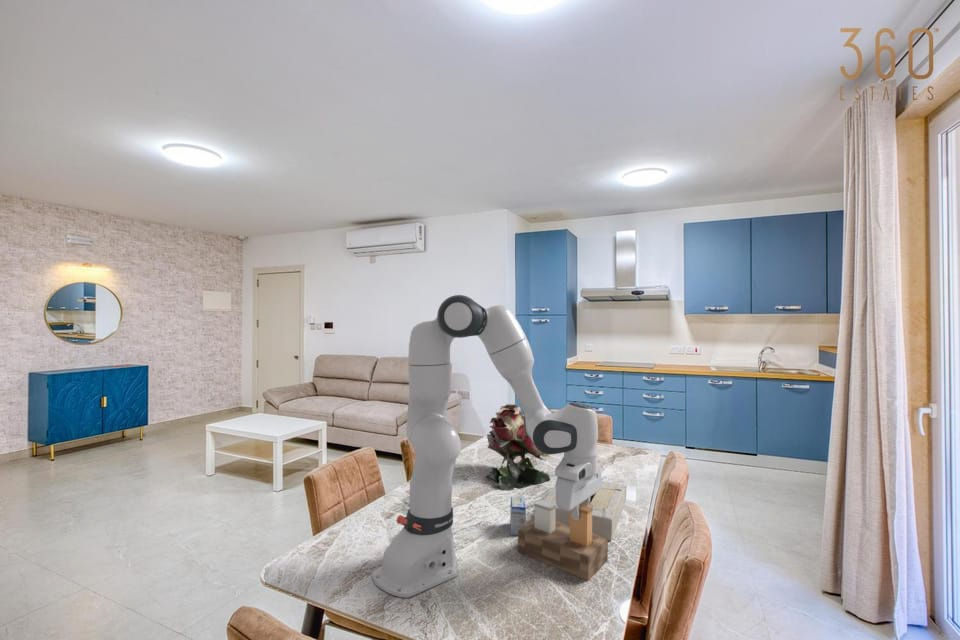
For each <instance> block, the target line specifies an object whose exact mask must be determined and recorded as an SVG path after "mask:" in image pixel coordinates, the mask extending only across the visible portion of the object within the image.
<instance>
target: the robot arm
mask: <svg viewBox="0 0 960 640" xmlns="http://www.w3.org/2000/svg"><path fill="white" fill-rule="evenodd" d="M475 336H477V337H478V338H479V339H480V341H481V342H482V343H483V345H484V347H485V350H486V352H487V354H488V357H489V358H490V360H491V362H492V364H493V365H494V367H495V368H496V370H497V372H498V373H499V374H500V375H501V377H502V378H503V379H504V380H505V381H506V382H507V383H508V384H509V385H510V387H511V388H512V390H513V392H514V394H515V397H516V399H517V402H518V403H519V407H520V409H521V411H522V413H523V414H524V429H525V432H526V435H527V436H528V437H529V438H530V439H531V441H532V442H533V444H534V445H535V446H536V448H537V449H538V450H539V451H541V452H542V453H545V454H548V455H556V454H557V455H558V454H563V457H562V459H561V461H560V462H559V463H558V465H556V467H555V469H554V476H555V477H556V480H555V486H556V505H557V507H558V508H560V509H563V510H566V511H570V510H571V511H572V518H573V519H574V520H578V519H580V518H581V516H580V515H581V512H579V509H578V508H579V504H580V503H581V504H583V505H586V506H589V504H590V497H591V496H592V495H594V494H595V493H596V492H598V491H599V490H600V489H601V486H602V469H601V465H600V464H599V452H598V449H597V443H598V440H599V426H598V425H599V424H598V423H599V422H598V416H597V413H596V411H595V409H594V408H593V407H591V406H589V405H587V404H585V403H582V402H581V403H580V402H576V401H575V402H568V403H567V404H566V405H565V406H564V407H561V409H559V410H556V411H554V412H553V410H551V409H550V408H549V407H547V406H546V405H545V404H544V402H543V400H542V398H541V395H540V393H539V391H538V389H537V386H536V384H535V382H534V381H535V380H534V377H533V367H534V364H535V359H534V354H533V351H532V347H531V345H530V343H529V340H528V338H527V336H526V333H525V332H524V330H523V328H522V326H521V324H520V323H519V321H518V319H517V318H516V317H515V315H514V314H513V312H512V310H511V309H510V308H508V307H507V306H505V305H493V306H489V307H487V308H484V307H483V306H481V305H480V304H479V303H478V302H476V301H475V300H473V298H470V296H467V295H463V294H456V295H455V294H454V295H452V296H448V297H447V298H446V299H444V300H443V301H442V302H441V304H440V305H439V307H438V310H437V315H436V317H435V319H433V320H430V321H429V320H428V321H423V322H420V323H417V324H416V325H414V327H413V328H412V330H411V332H410V337H409V343H408V355H407V356H408V357H407V358H408V361H407V362H408V391H409V392H408V403H407V405H408V406H407V412H406V414H407V416H406V426H405V432H406V439H407V441H408V442H409V444H410V446H411V447H412V449H413V452H414V462H413V470H412V474H411V476H410V480H409V508H408V510H407V514H406V517H405V516H403V515H401V514H399V515H398V516H397V517H396V523H397V524H399V525H402V526H403V527H402V529H401V530H400V531H399V532H398V534H397V535H396V537H394V539H393V540H392V541H391V543H390V544H389V545H388V546H387V547H386V549H385V550H384V552H383V556H382V561H381V565H380V566H379V567H377V568H376V569H375V570H373V571H372V572H371V573H372V575H371V580H372V581H373V583H374V584H375V585H376V586H377V587H378V588H380V589H381V590H382V591H384V592H386V593H387V594H390V595H393V596H395V597H399V598H405V599H407V598H411V597H413V596H415V595H419V594H420V593H422V592H424V591H427V590H429V589H431V588H433V587H436V586H438V585H440V584H442V583H444V582H446V581H449V580H451V579H454V578H455V577H457V576H458V573H459V572H458V568H457V564H458V559H457V556H456V553H455V551H456V550H455V542H454V535H453V529H452V526H453V524H454V510H453V509H454V508H453V506H452V502H453V501H452V500H453V499H452V497H453V496H452V493H453V491H452V490H453V476H454V473H455V472H454V470H455V467H456V466H455V465H456V462H457V458H458V457H459V456H460V453H461V450H462V442H461V439H460V435H459V432H458V431H457V429H456V427H454V426H453V425H452V424H451V423H450V422H449V421H448V419H447V413H448V412H447V410H448V405H449V398H450V395H451V394H452V378H451V377H452V375H451V373H452V372H451V345H452V343H453V340H455V338H458V339H460V338H461V339H463V338H467V337H468V338H469V337H475Z"/></svg>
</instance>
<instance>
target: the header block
mask: <svg viewBox="0 0 960 640" xmlns="http://www.w3.org/2000/svg"><path fill="white" fill-rule="evenodd" d="M534 526H535V519H534V520H532V521H530V522H528V523H526V526H524V527H523V528H521V529H520V530H518V535H517V552H518V553H520V554H523V555H525V556H527V557H528V558H532V559H534V560H536V561H539V562H541V563H544V564H547V565H549V566H552V567H553V568H556V569H558V570H561V571H563V572H566V573H568V574H571V575H574V576H575V577H577V578H580V579H582V580H585V581H587V582H589V581H590V579H592V578H593V576H595V574H596V573H598V571H599V570H600V569H601V568H602V567H603V566H605V564H606V563H607V562H608V557H609V553H608V549H609V548H608V547H609V544H608V543H609V541H608V538H605V537H602V536H599V535H596V534H593V533H592V544H590V545H589V546H588V547H586V546H583V545H580V544H578V543H575V542H572V541H570V526H569V525H566V524H563V523H560V522H557V521H555V531H553V532H552V533H551V534H550V533H547V532H544V531H542V530H539V529H536V528H534Z"/></svg>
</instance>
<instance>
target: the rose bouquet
mask: <svg viewBox="0 0 960 640" xmlns="http://www.w3.org/2000/svg"><path fill="white" fill-rule="evenodd" d="M521 411H522V408H521V406H519V405H517V404H514V403H513V404H512V403H509V404H508V403H506V404H505V405H502V406H500V408H499V411H497V412H495V416H496V417H491V418H490V421H489V424H491V425H490V426H489V427H490V428H491V429H492V430H490V431H489V433H488V434H486V438H487V442H488V445H487V449H490V450H491V451H494V452H496V453H498V455H500V456H501V457H503V459H502V461H501V466H499V467H491V468H490V469H491V471H489V472H488V473H489V474H487V475H485V479H488V478H490V479H492V480H494V481H495V482H497V483H493V485H494V486H496V487H498V488H499V489H500V490H501V491H513V490H521V489H524V488H527V487H531V486H532V485H536V484H542V483H544V482H546V481H548V480H551V478H550V475H549V474H548V473H547V472H544V470H542V471H541V470H539V469H536V468H534V465H533V463H532V461H531V460H530V458H529V456H527V457H526V455H527V454H528V455H529V454H530V455H532V456H533V457H535V458H536V459H539V460H540V461H542V460H543V461H545V462H546V461H547V460H546V459H544V458H542V457H541V456H543V457H548V456H549V454H545V453H542V452H541V451H539V450H538V449H537V448H536V446H535V445H534V444H533V442H532V441H531V439H530V438H529V437H528V436H527V435H526V432H525V429H524V414H523V412H521ZM517 457H520V458H521V459H520V460H519V461H518V462H515V461H514V460H516V458H517ZM505 462H506V466H503V464H504V463H505Z"/></svg>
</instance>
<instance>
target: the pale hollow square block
mask: <svg viewBox="0 0 960 640" xmlns="http://www.w3.org/2000/svg"><path fill="white" fill-rule="evenodd" d="M626 499H627V485H626V484H624V483H616V482H615V483H614V482H609V481H604V480H603V481H602V486H601V489H600V490H599V491H598V492H596V493H595V494H594V495H592V496H591V497H590V502H589V506H590V507H593V511H592V533H593V534H596V535H599V536H602V537H605V538H608V542H612V540H613V538H614V534H615V531H616V529H617V526H618V524H619V521H620V518H621V515H622V513H623V511H624V508H625V505H626V502H627V501H626ZM541 500H542V501H546V502H549V503H552V504H555V505H556V485H555V486H554V487H553V488H552V489H551V491H549V492H548V493H547V494H546V496H544V498H542V499H541ZM580 504H581V503H580ZM555 521H557V522H560V523H563V524H566V525H569V526H570V511H566V510H563V509H560V508H558V507H557V505H556V515H555Z"/></svg>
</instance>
